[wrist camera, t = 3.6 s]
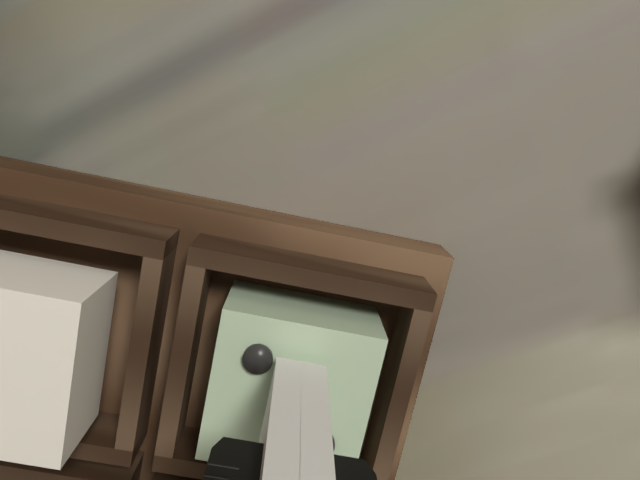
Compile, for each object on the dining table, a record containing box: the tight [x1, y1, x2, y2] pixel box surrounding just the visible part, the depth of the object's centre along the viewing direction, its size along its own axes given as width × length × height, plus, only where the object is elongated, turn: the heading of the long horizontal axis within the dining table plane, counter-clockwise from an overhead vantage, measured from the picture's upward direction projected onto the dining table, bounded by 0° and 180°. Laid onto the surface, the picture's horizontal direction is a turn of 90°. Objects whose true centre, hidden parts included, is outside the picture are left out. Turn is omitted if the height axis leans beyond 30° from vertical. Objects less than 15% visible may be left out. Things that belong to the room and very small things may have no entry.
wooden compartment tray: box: [0, 156, 454, 480], centre depth 21 cm, size 18×18×4 cm
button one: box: [0, 250, 118, 470], centre depth 16 cm, size 5×5×3 cm
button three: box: [195, 280, 388, 461], centre depth 19 cm, size 5×5×3 cm
